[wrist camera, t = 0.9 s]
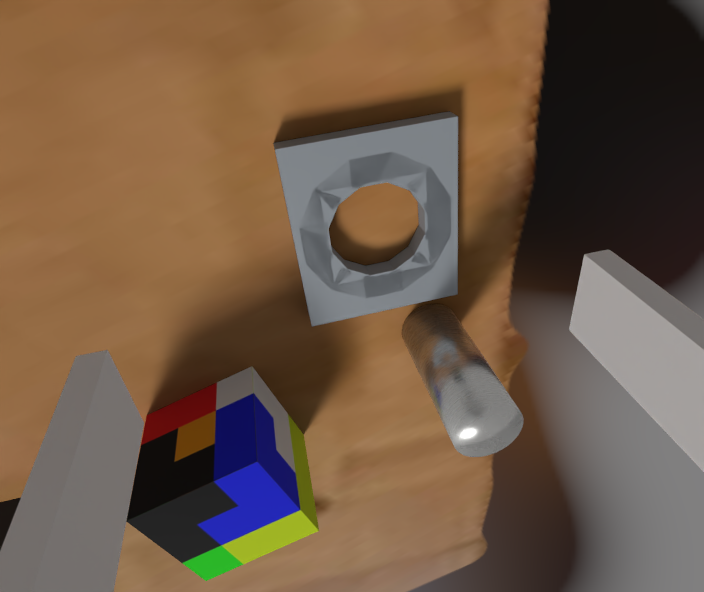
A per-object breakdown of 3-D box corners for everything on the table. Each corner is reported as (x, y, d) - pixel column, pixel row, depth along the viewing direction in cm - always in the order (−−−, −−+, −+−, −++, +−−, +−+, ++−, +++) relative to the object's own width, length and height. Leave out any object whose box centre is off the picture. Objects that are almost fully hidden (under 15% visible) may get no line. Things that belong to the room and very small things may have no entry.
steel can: (399, 310, 41) (452, 414, 31) (456, 298, 42) (526, 396, 32) (403, 355, 44) (453, 464, 34) (456, 343, 45) (520, 446, 35)
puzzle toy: (252, 365, 41) (257, 461, 33) (303, 434, 47) (318, 530, 39) (146, 414, 42) (126, 521, 34) (210, 476, 47) (205, 580, 39)
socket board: (273, 143, 32) (275, 149, 31) (449, 111, 33) (458, 116, 32) (309, 315, 40) (311, 326, 38) (450, 284, 41) (457, 294, 40)
